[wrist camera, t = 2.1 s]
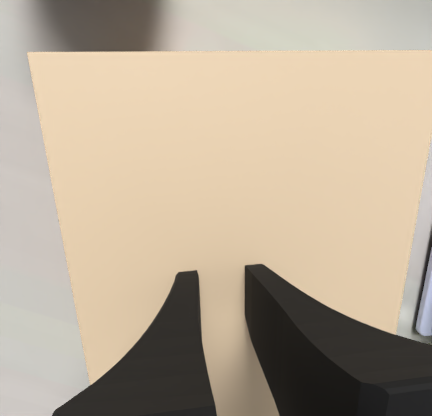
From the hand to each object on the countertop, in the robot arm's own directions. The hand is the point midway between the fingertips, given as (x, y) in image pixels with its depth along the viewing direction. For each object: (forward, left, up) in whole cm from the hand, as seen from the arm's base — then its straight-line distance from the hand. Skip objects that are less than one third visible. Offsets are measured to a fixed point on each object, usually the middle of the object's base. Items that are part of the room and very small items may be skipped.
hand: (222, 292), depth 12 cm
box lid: (-1, 0, -1) cm, 1 cm away
